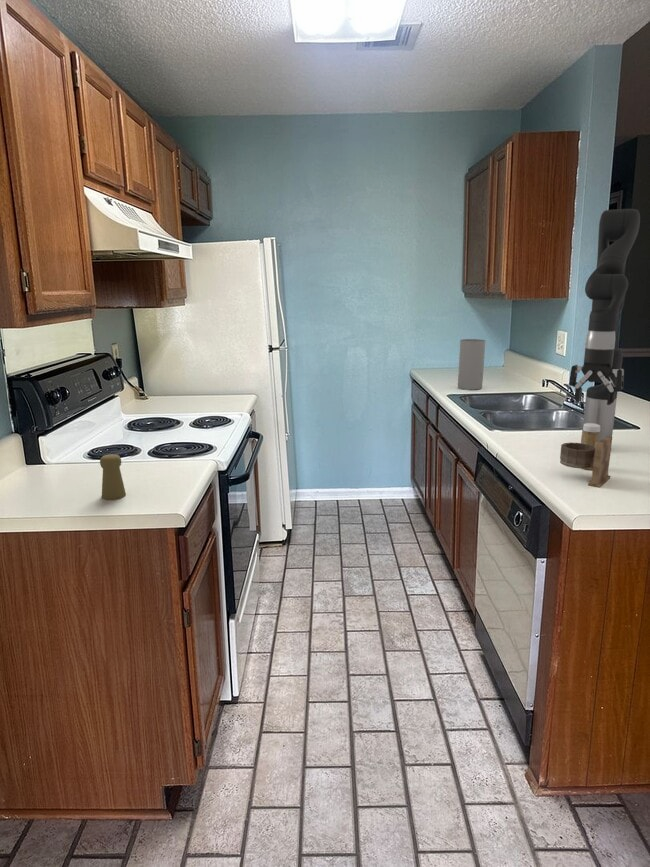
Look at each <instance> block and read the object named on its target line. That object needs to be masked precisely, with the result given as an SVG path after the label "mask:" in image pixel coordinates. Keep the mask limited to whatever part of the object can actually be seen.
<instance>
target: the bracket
mask: <svg viewBox="0 0 650 867" xmlns="http://www.w3.org/2000/svg"><path fill="white" fill-rule="evenodd" d="M612 442H613V436H612V437H608V436H606V437H605V438H603V439H602V440H600V441H599V442H597V443H596V446H595V447H594V446H591V445H588V444H583V443H581V442H563V443H562V444H561V445H560V446H561V447H560V456H559V459H560V462H559V463H560V464H562V465H563V466H565V467H569V468H574V469H582V468H593V470H591V471H592V474H591V480H590V481H588V483H587V485H588V487H589V486H590V487H594V488H601V487H602V486H604V484H606V483H607V482H608V481H609V480H611V475H609V467H610V459H611V451H612V444H613V443H612Z"/></svg>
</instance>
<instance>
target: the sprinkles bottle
mask: <svg viewBox="0 0 650 867" xmlns="http://www.w3.org/2000/svg"><path fill="white" fill-rule="evenodd" d="M582 429H583V440H582V443H583V444H588V445H591V446H594V447H595V446H596V443H597V442H598V438H599V432H600V425H598V424H594V423H585V424H584V426H583V425H582ZM581 469H582V470H585V471H593V468H581Z"/></svg>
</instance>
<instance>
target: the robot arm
mask: <svg viewBox="0 0 650 867" xmlns="http://www.w3.org/2000/svg"><path fill="white" fill-rule="evenodd" d="M598 223H599V224H598V240H597V258H596V260H597V261H596V268H595V269H594V271H593V272H592V273H591V274H590V275H589V276H588V279H587V281H586V283H585V286H584V287H585V288H584V292H585V295H586V297H587V298H588V299H589V300H591V311H590V313H589V317H588V330H587V334H586V337H585V338H586V339H585V343H584V357H583V365H581V366H580V365H578V364H574V365H572V366H571V369H570V374H569V382H568V385H569V386H570V387H573V388H575V389H574V399H575V401H576V402H581V400H582V395H583V386H584V384H586V383H587V382H590V383H597V385H594V386H593V385H591V386H590V387H587V389H586V394H585V403H584V411H583V422H582V427H583V426H584V424H585V423H594V424H598V425H600V432H599V438H598V442H599V441H600V440H602V439H603V438H605V437H606V436H608V437H612V438H613V434H614V425H615V424H614V423H615V416H616V415H615V414H616V406H617V398H618V391H621V390H623V389H624V383H625V381H624V380H625V369H624V368H622V367H623V366H622V365H623V361H624V360H623V359H624V358H623V356H624V355H623V350H621V349H619V348H616V347H615V346H616V329H617V328H616V327H617V320H618V316H619V315H620V313H621V311H622V310H623V308H624V307H625V298H626V292H628V287H629V280H628V278H627V276H626V275H625V274H624V272H625V267H626V265H627V264H626V263H627V259H628V256H629V253H630V251H631V249H632V248H633V245H634V244H635V241H636V240H637V239H636V238H637V236H638V233H639V230H640V223H641V215H640V211H639V210H638V209H635V208H622V209H621V208H620V209H606V210H604V211H603V212H602V213H601V214H600V219H599V222H598ZM610 243H611V244H610ZM580 372H581V373H582V374H583V375H584V376H583V377H581V378H580V380H579V381H578V382H577V378H578V374H579V373H580ZM580 439H581V440H580V443H582V440H583V428H582V431H581V437H580Z"/></svg>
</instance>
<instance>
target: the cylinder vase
mask: <svg viewBox="0 0 650 867" xmlns="http://www.w3.org/2000/svg"><path fill="white" fill-rule="evenodd" d="M459 341H460V342H459V357H458V358H459V359H458V376H457V378H458V379H457V388H458V389H460V390H464V389H469V390H468V391H475V390H474V389H479V390H482V388H483V382H484V369H485V368H484V367H485V366H484V365H485V352H486V349H485V348H486V340H485V339H476V338H475V339H473V338H466V339H465V338H464V339H459Z"/></svg>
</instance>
